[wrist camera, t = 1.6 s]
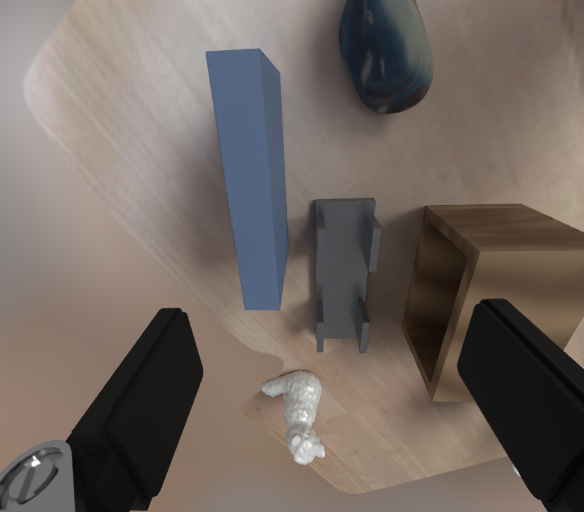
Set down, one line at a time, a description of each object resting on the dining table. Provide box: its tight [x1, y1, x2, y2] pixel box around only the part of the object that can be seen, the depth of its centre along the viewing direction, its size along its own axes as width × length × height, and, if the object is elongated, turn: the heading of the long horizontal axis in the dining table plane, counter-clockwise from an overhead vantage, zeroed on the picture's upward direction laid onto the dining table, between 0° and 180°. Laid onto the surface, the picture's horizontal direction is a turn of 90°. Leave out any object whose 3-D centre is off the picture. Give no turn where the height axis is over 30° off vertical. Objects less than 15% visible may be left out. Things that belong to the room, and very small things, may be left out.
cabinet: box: [402, 204, 584, 402], centre depth 30 cm, size 18×10×11 cm, turn 2°
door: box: [206, 49, 289, 310], centre depth 25 cm, size 18×4×12 cm, turn 2°
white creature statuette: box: [262, 370, 325, 465], centre depth 40 cm, size 10×9×12 cm
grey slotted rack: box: [315, 198, 382, 353], centre depth 33 cm, size 20×6×5 cm, turn 2°
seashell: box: [339, 0, 433, 114], centre depth 22 cm, size 6×9×10 cm
